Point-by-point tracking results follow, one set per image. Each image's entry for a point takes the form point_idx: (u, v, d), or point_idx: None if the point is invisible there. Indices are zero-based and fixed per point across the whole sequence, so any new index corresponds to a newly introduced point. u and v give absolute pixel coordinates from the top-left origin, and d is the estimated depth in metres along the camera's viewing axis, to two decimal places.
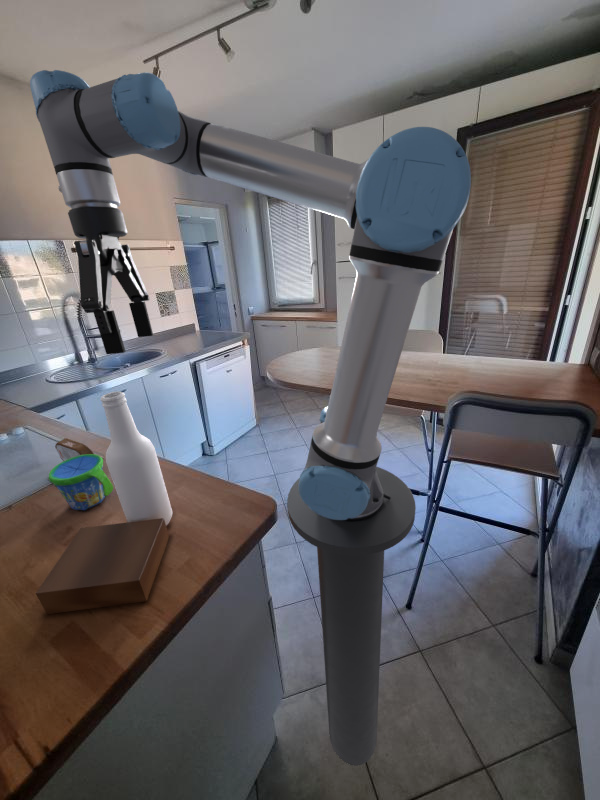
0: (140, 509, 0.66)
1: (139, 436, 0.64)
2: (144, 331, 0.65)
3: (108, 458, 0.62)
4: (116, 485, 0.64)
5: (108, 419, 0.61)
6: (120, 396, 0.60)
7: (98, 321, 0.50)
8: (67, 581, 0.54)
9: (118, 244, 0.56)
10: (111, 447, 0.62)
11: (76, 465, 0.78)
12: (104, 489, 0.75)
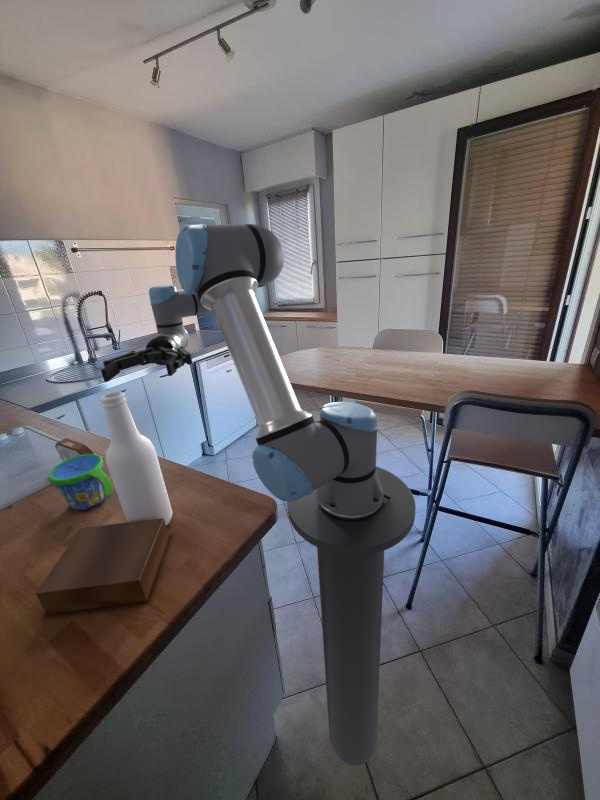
0: (140, 509, 0.66)
1: (139, 436, 0.64)
2: None
3: (108, 458, 0.62)
4: (116, 485, 0.64)
5: (108, 419, 0.61)
6: (120, 396, 0.60)
7: None
8: (67, 581, 0.54)
9: (167, 348, 0.87)
10: (111, 447, 0.62)
11: (76, 465, 0.78)
12: (104, 489, 0.75)
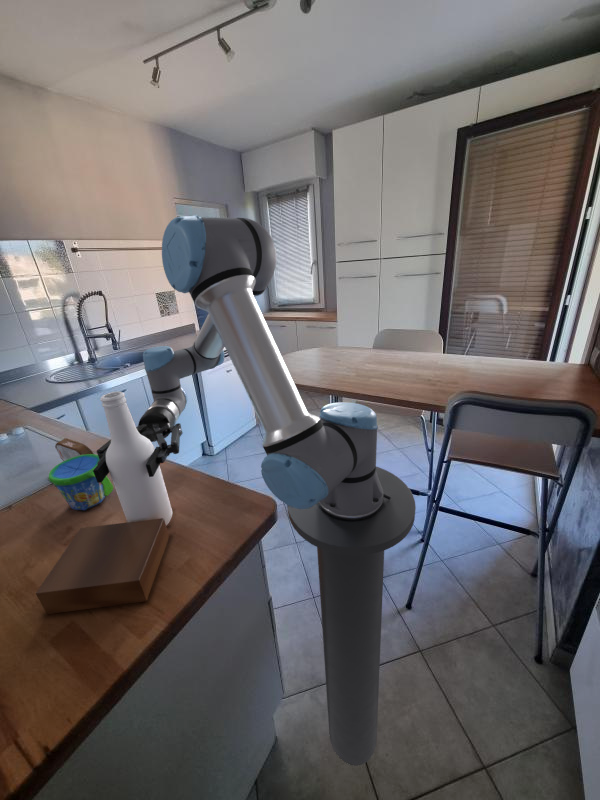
0: (140, 509, 0.66)
1: (139, 436, 0.64)
2: None
3: (108, 458, 0.62)
4: (116, 485, 0.64)
5: (108, 419, 0.61)
6: (120, 396, 0.60)
7: None
8: (67, 581, 0.54)
9: (163, 424, 0.78)
10: (111, 447, 0.62)
11: (76, 465, 0.78)
12: (104, 489, 0.75)
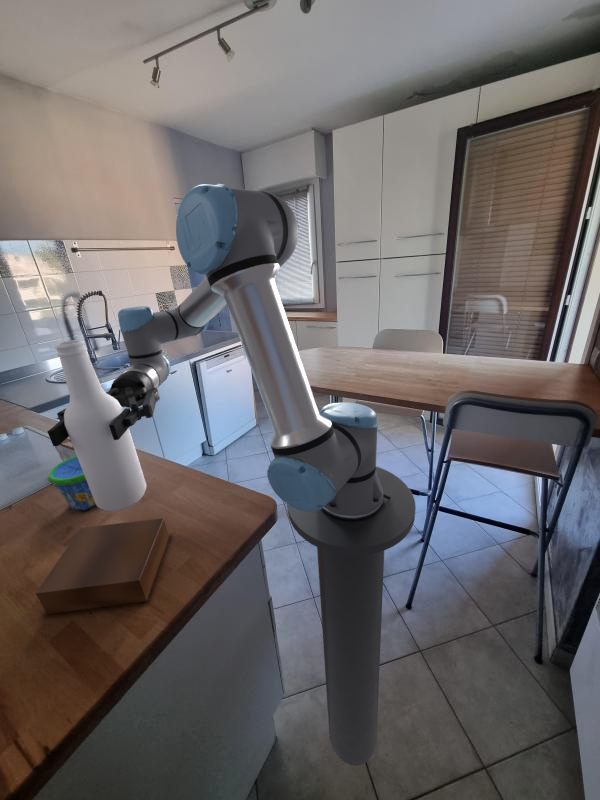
0: (105, 479, 0.57)
1: (103, 394, 0.56)
2: None
3: (66, 417, 0.53)
4: (77, 450, 0.55)
5: (64, 371, 0.52)
6: (78, 343, 0.51)
7: None
8: (67, 581, 0.54)
9: (138, 388, 0.69)
10: (69, 405, 0.54)
11: (76, 465, 0.78)
12: None
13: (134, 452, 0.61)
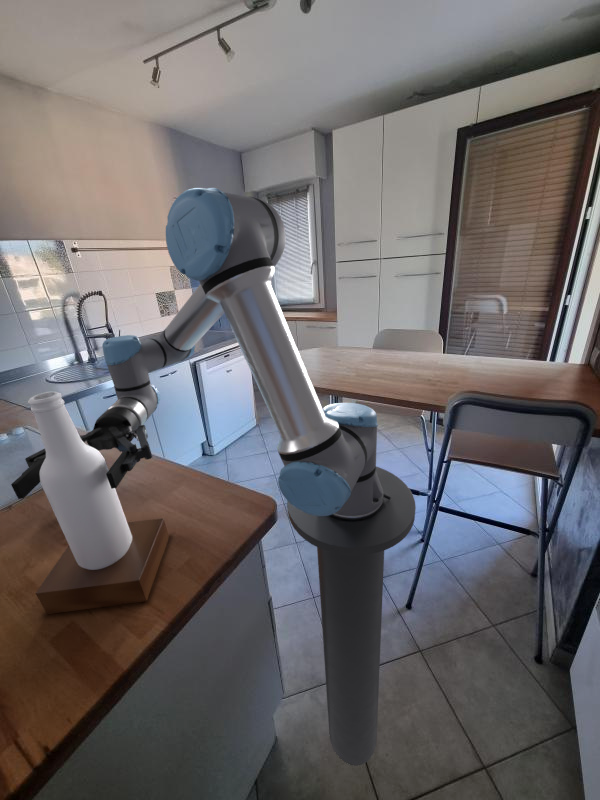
0: (85, 539, 0.52)
1: (83, 448, 0.51)
2: None
3: (42, 475, 0.49)
4: (54, 509, 0.51)
5: (39, 427, 0.47)
6: (54, 397, 0.47)
7: None
8: (67, 581, 0.54)
9: (123, 427, 0.64)
10: (45, 462, 0.49)
11: None
12: None
13: (118, 505, 0.56)
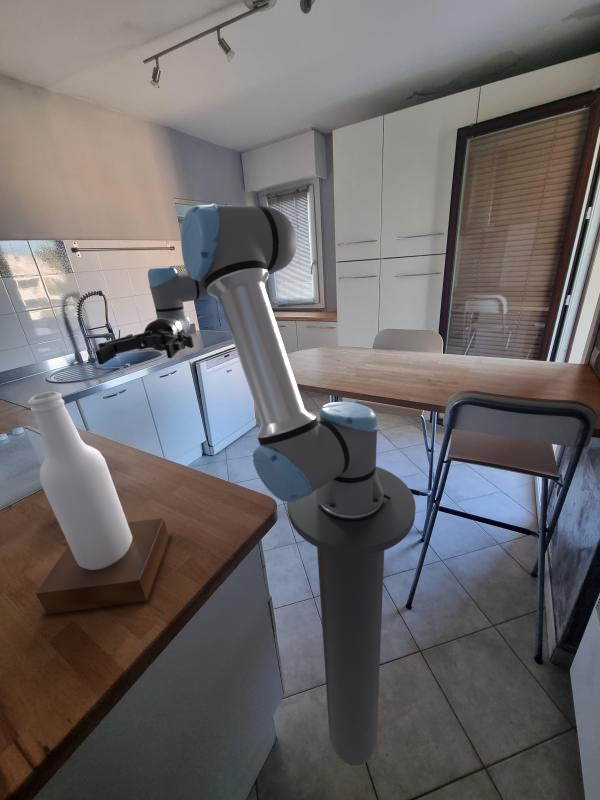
0: (85, 539, 0.52)
1: (83, 448, 0.51)
2: None
3: (42, 475, 0.49)
4: (54, 509, 0.51)
5: (39, 427, 0.47)
6: (54, 397, 0.47)
7: None
8: (67, 581, 0.54)
9: (167, 332, 0.81)
10: (45, 462, 0.49)
11: None
12: None
13: (118, 505, 0.56)
